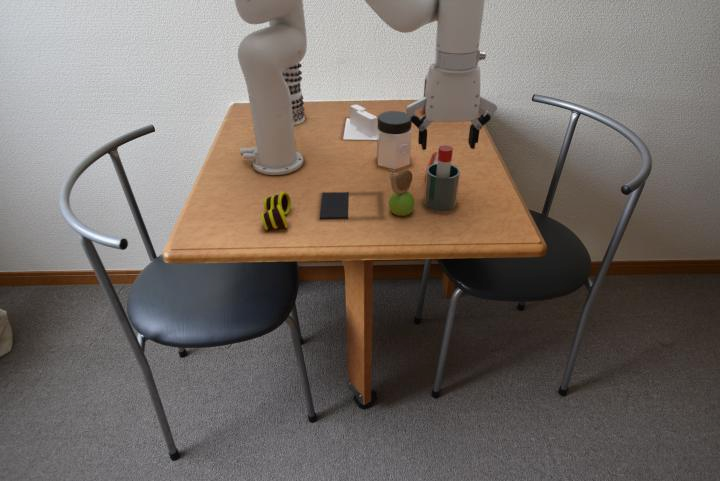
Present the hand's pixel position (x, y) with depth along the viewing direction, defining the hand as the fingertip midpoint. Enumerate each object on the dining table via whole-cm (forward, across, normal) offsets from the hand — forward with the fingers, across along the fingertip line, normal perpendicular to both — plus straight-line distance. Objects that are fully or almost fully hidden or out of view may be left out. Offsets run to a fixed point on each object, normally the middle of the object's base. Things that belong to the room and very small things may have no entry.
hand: (447, 146), depth 96 cm
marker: (+13, 0, 0) cm, 13 cm away
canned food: (+14, -6, -52) cm, 54 cm away
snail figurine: (+14, +10, +4) cm, 17 cm away
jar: (+14, +9, -20) cm, 26 cm away
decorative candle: (+14, +38, -48) cm, 63 cm away
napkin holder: (+14, +16, -41) cm, 46 cm away
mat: (+14, +20, 0) cm, 24 cm away
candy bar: (+14, -1, -14) cm, 20 cm away
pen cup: (+14, 0, 0) cm, 14 cm away
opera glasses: (+14, +35, +5) cm, 38 cm away
